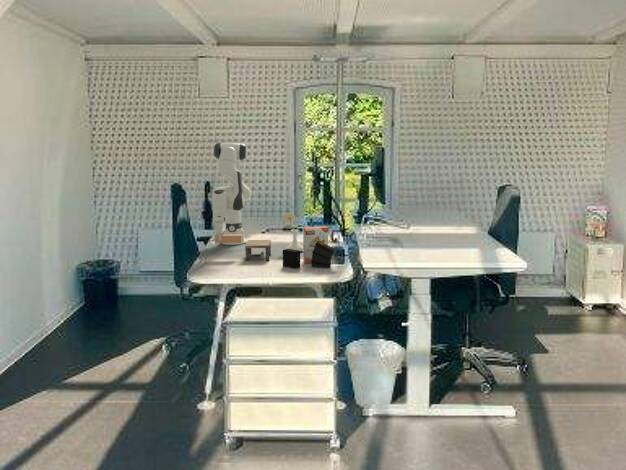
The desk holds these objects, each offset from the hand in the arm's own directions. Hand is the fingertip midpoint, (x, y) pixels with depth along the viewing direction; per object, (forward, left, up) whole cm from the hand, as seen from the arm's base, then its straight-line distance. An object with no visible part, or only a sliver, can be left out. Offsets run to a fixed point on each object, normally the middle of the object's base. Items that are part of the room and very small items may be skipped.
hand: (221, 239), depth 415 cm
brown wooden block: (0, +4, -2) cm, 5 cm away
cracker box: (+13, +57, -12) cm, 60 cm away
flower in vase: (-19, +43, -12) cm, 49 cm away
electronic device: (+26, +43, -12) cm, 52 cm away
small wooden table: (0, +22, -12) cm, 25 cm away
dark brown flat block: (+27, +61, -12) cm, 68 cm away
